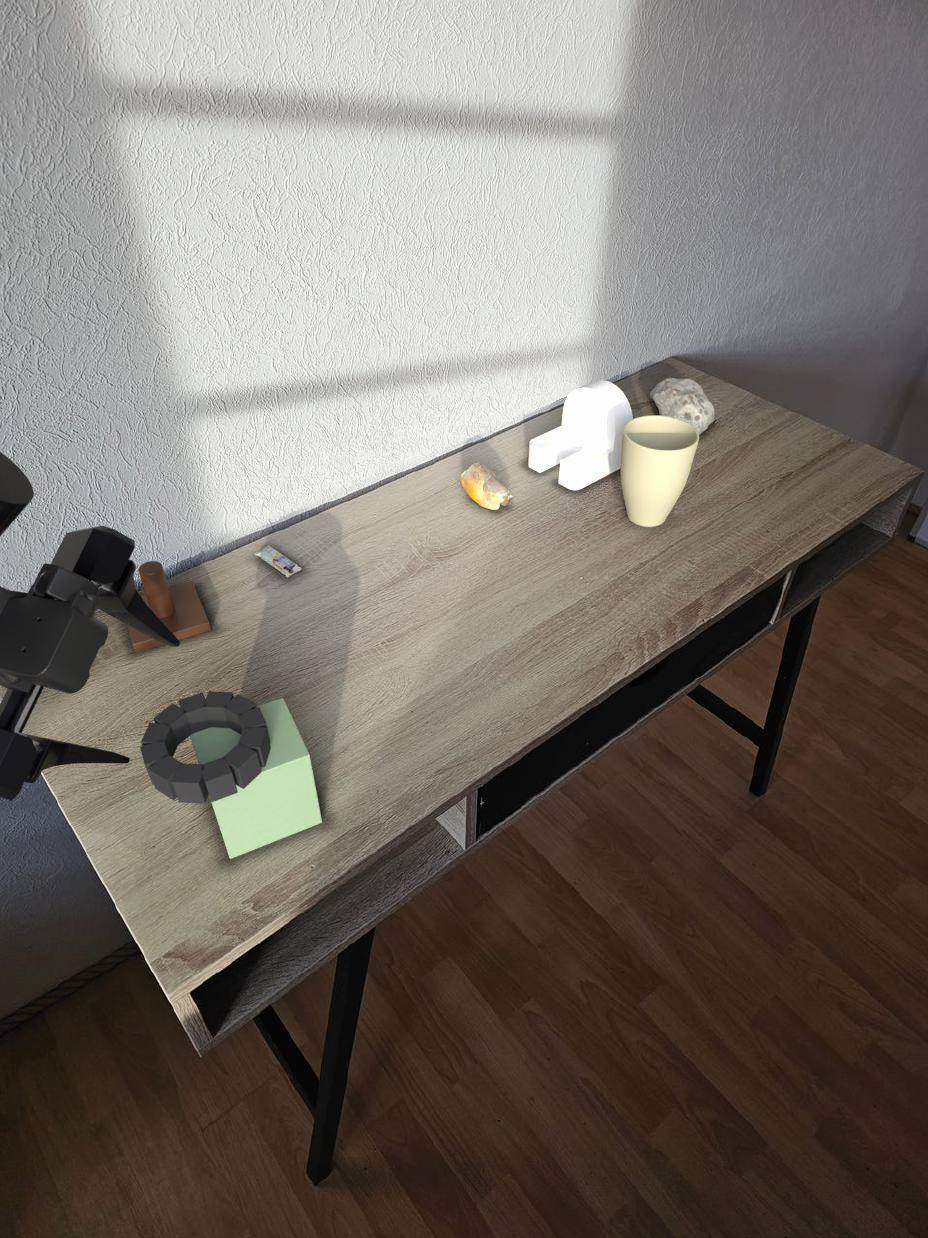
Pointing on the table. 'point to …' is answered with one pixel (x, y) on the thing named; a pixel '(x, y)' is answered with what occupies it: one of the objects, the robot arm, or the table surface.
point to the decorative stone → (683, 402)
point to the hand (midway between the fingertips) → (152, 701)
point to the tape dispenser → (585, 436)
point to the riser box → (264, 785)
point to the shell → (485, 487)
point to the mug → (655, 466)
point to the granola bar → (278, 561)
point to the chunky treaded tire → (216, 775)
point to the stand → (169, 607)
